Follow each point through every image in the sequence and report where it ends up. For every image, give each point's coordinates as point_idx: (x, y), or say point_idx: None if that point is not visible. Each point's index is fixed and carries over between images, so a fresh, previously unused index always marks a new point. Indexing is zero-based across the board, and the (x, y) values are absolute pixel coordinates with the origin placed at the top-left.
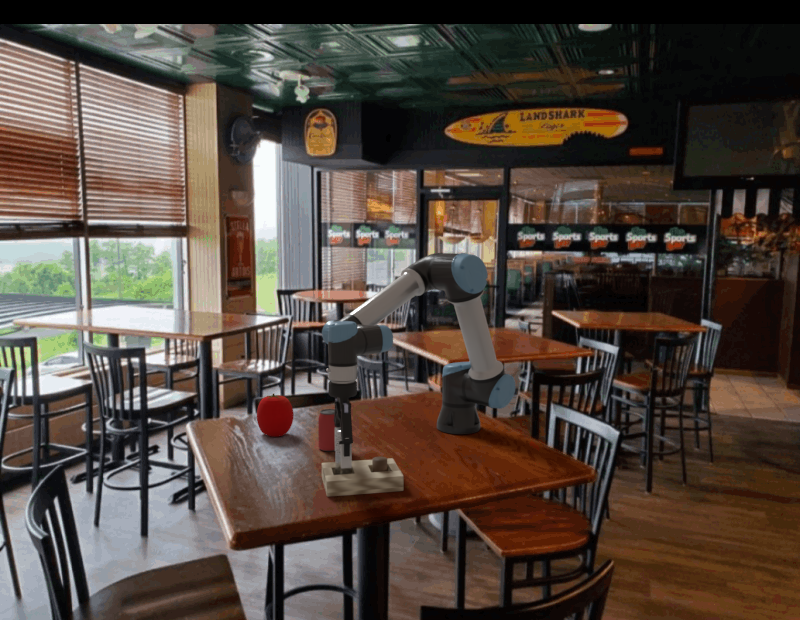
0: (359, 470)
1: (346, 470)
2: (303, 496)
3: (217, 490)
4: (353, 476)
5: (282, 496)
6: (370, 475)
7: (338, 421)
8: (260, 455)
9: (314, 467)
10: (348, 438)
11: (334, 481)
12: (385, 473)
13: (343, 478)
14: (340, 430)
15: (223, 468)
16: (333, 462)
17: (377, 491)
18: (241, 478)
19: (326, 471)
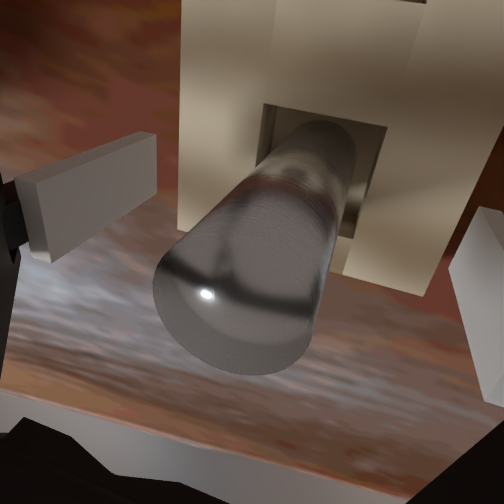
0: (352, 80)
1: (351, 172)
2: (367, 322)
3: (229, 452)
4: (431, 151)
5: (334, 368)
6: (481, 31)
7: (7, 281)
8: None
9: None
10: (317, 249)
11: (437, 264)
12: None
13: (430, 214)
14: (226, 333)
15: (94, 395)
16: (184, 178)
17: None
18: (165, 392)
19: None
